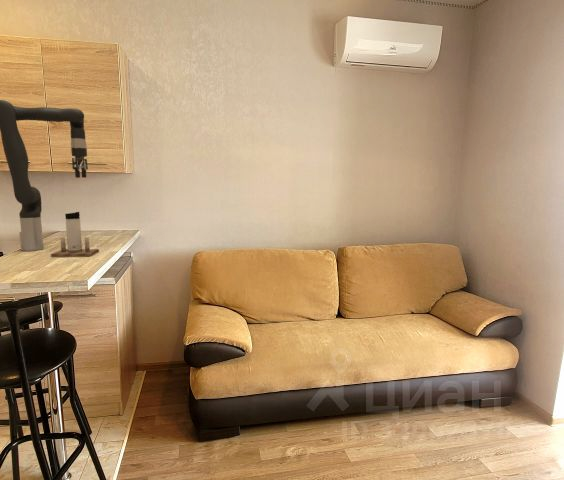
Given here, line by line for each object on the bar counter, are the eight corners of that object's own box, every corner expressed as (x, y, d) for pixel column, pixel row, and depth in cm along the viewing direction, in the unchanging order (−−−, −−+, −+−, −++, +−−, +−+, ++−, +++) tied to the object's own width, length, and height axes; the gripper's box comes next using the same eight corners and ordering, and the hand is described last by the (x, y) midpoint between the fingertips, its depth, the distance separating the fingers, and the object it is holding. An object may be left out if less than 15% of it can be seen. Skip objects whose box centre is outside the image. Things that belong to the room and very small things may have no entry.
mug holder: (51, 257, 181) (49, 239, 180) (62, 252, 193) (61, 235, 192) (90, 256, 183) (88, 239, 182) (99, 251, 195) (97, 235, 194)
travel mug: (76, 253, 184) (73, 212, 181) (65, 252, 186) (61, 212, 182) (85, 250, 190) (82, 211, 187) (74, 249, 192) (71, 211, 188)
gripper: (77, 148, 211) (79, 177, 213) (65, 146, 197) (68, 177, 199) (91, 148, 212) (93, 177, 214) (80, 146, 198) (83, 177, 200)
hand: (81, 177), depth 207 cm, fingers open, 8 cm apart
